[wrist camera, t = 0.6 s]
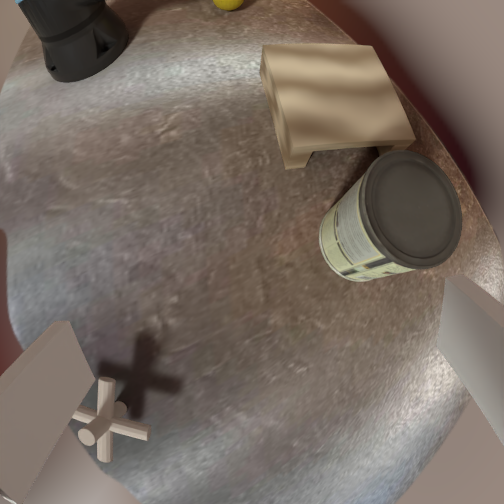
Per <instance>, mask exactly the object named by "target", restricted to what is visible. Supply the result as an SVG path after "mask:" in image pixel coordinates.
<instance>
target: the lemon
mask: <svg viewBox="0 0 504 504" xmlns="http://www.w3.org/2000/svg"><path fill="white" fill-rule="evenodd" d="M243 1H244V0H213V2H214V4H215V5H216V6H217V7H218V8H220V9H222V10H227V11H230V10H234V9H236V8H238V7H239V6H240V5H241V4H242V3H243Z"/></svg>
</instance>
